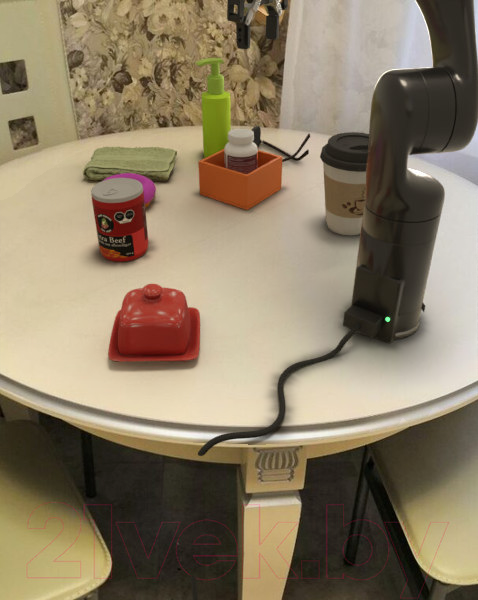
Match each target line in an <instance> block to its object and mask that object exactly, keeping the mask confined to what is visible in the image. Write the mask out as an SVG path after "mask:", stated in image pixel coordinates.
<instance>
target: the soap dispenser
mask: <svg viewBox="0 0 478 600" xmlns="http://www.w3.org/2000/svg"><path fill="white" fill-rule="evenodd" d="M194 64H195V65H196V66H198V67H203V66H208V65H210V74H209V75H207V76H206V87H207V88H206V89H207V90H206V91H204V92H202V93H201V95H200V96H201V118H202V120H201V121H202V122H201V123H202V145H203V146H202V147H203V149H202V150H203V158H207V157H209V156H211V155H213V154H215V153H217V152H219V151H221V150H223V149H224V148H225V146H226V144H227V143H229V140H228V132H229V131H230V130H232V129H231V128H232V126H231V125H232V123H231V121H232V120H231V117H232V116H231V111H232V110H231V93H230V92H229V91H226V90H225V76H224V75H223V74H221V72H220V70H221V69H220V64H224V59H222V58H220V57H209V58H208V57H207V58H202V59H200V60H198V61H195V62H194Z"/></svg>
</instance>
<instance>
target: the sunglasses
mask: <svg viewBox="0 0 478 600" xmlns="http://www.w3.org/2000/svg"><path fill="white" fill-rule="evenodd" d="M261 129H262V128H261V126H260V125H256V126H253V127H252V129H251V130H252V131H253V132H254V140H253V142H254V143H255V144H256V145H257V147H259V146H260V144H263V145H265V146H267V147H269V148H271V149H273V150H275V151H277V152H278V153H280V154H282V155H284V156H286V157H285V158H283V159H282V163H285V162H287V161H290V160H293V161H295V162H299V161H301V160H303V159H304V158H306V156H308V155H309V153H310V151H309V150H310V149H306V150H305V151H304V152H303V153H302V154H301V155H300V156H299V157H297V155H299V153H300V152H301V151H302V149H303V148H304V147H305V145H306V144H307V142H308V141H309V139H310V138H311V133H307V135H306V137H305V139H304V140H303V141H302V143H301V144H300V146H299V147H298V149H297V150H296V151H295V152H294V153H293V154H292V155H291V154H290V153H288V152H286V151H285V150H283V149H281V148H279V147H277V146H276V145H273V144H272V143H270V142H267V140H264V139H263V140H262V139H261V136H262V135H261V133H262V132H261V131H262V130H261Z"/></svg>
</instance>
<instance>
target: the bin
mask: <svg viewBox="0 0 478 600" xmlns="http://www.w3.org/2000/svg"><path fill="white" fill-rule="evenodd" d="M282 159H284V158H283V155H278V154H276V153H275V154H274V153H272V152H267V151H264V150H260V149H258V169H256V170H254V171H252V172H250V173H249V174H243V173H240V172H237V171H233V170H230V169H227V168H225V157H224V149H223V150H221V151H219V152H217V153H215V154H213V155H211V156H209V157H207V158H205V157H203V159H201V160H199V161H198V162H197V163H198V184H199V185H198V187H199V195H201V196H204V197H207V198H209V199H212V200H216V201H219V202H222V203H225V204H227V205H231V206H233V207H237V208H239V209H242V210H244V211H245V210H246V211H249V210H251V208H253V207H255V206H256V205H259V203H261V202H263V201H264V200H266V199H267V198H269V197H270V196H272V195H275V193H277V192H279V191H281V190H282V181H283V180H282V179H283V162H282Z"/></svg>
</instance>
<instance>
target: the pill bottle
mask: <svg viewBox="0 0 478 600" xmlns="http://www.w3.org/2000/svg"><path fill="white" fill-rule="evenodd" d="M228 140H229V143H227V144H226V146H225V148H224V157H225V168H227V169H230V170H233V171H237V172H240V173H243V174H249V173H250V172H252V171H254V170H256V169H258V150H259V148H258V146H257V145H256V144H255V143H254V142H253V140H254V132H253V131H252V129H249V128H241V127H240V128H234V129H231V130H230V131H229V132H228Z"/></svg>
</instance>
